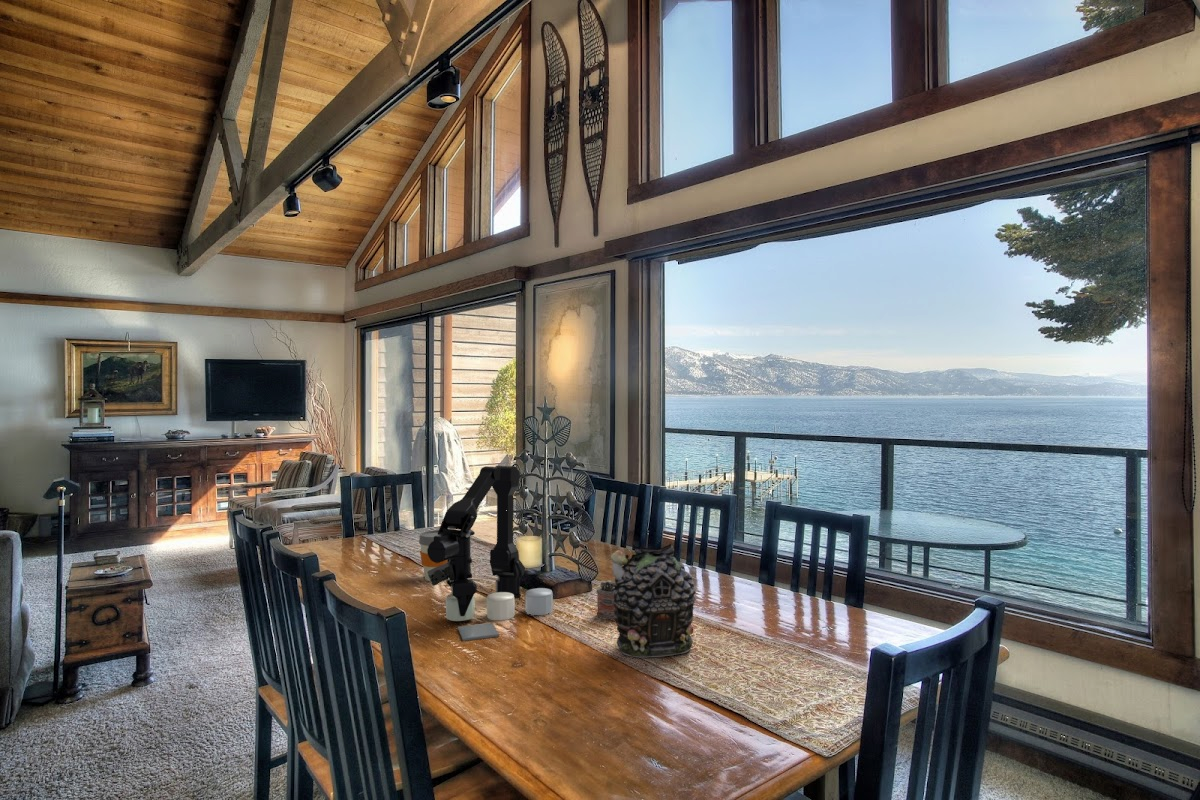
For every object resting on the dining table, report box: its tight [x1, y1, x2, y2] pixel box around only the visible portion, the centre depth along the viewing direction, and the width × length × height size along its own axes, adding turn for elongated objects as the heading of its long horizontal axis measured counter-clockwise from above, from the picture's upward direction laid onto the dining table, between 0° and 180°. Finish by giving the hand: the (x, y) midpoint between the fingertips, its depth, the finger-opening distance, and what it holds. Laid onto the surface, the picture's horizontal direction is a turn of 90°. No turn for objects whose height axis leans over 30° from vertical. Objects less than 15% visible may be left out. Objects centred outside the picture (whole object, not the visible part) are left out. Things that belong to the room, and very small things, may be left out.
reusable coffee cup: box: [418, 529, 449, 582], centre depth 223 cm, size 12×13×15 cm
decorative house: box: [610, 544, 697, 659], centre depth 158 cm, size 21×15×25 cm
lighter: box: [596, 579, 615, 621], centre depth 181 cm, size 8×3×10 cm, turn 62°
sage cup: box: [445, 593, 476, 622], centre depth 180 cm, size 7×7×6 cm
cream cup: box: [486, 592, 516, 622], centre depth 183 cm, size 7×7×6 cm
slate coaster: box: [457, 622, 500, 642], centre depth 170 cm, size 9×9×1 cm
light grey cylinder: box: [525, 587, 554, 616], centre depth 187 cm, size 7×7×6 cm
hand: (460, 611), depth 180 cm, fingers closed on sage cup, 7 cm apart
